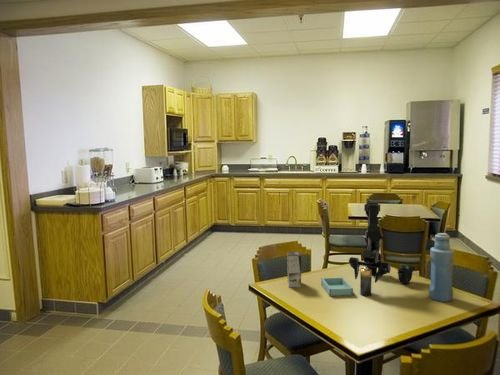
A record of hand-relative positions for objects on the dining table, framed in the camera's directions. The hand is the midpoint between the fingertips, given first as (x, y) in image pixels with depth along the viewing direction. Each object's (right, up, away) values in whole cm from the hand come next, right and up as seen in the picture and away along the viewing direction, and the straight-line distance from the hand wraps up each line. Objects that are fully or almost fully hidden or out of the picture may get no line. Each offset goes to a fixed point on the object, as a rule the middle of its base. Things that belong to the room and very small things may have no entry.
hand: (365, 280), depth 186 cm
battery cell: (+1, -7, +2) cm, 7 cm away
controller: (+26, -5, +17) cm, 31 cm away
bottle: (+33, -7, -4) cm, 34 cm away
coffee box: (-31, -6, +17) cm, 36 cm away
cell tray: (-12, -6, +8) cm, 15 cm away
